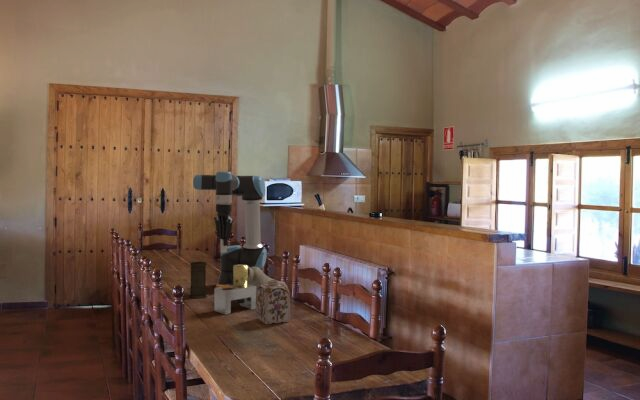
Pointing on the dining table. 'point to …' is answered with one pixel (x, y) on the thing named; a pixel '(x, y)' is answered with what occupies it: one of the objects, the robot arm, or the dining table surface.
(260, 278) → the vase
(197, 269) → the container
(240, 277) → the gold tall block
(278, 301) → the decorative jar
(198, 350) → the dining table surface
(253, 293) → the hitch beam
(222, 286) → the keeper flap
